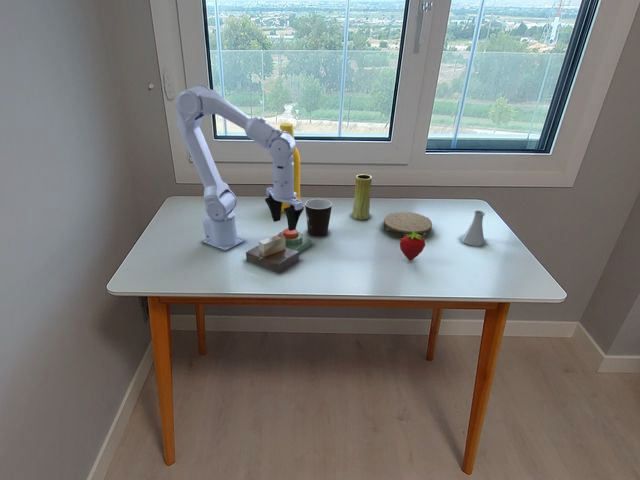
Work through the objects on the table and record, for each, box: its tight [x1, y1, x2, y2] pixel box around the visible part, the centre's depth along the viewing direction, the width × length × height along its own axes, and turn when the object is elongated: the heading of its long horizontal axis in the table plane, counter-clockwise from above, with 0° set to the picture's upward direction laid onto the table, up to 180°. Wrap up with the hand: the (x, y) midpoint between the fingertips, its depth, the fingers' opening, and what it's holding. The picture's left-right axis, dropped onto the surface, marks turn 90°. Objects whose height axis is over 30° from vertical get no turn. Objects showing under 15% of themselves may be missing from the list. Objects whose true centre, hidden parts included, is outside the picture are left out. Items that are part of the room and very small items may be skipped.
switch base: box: [245, 244, 300, 275], centre depth 130 cm, size 12×12×3 cm
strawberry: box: [399, 229, 426, 262], centre depth 131 cm, size 6×8×10 cm
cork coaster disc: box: [382, 211, 433, 240], centre depth 150 cm, size 16×16×3 cm
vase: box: [351, 173, 373, 220], centre depth 155 cm, size 6×6×14 cm
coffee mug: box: [304, 198, 333, 238], centre depth 146 cm, size 12×9×10 cm
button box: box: [278, 230, 312, 253], centre depth 138 cm, size 10×8×4 cm
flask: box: [461, 210, 486, 247], centre depth 142 cm, size 7×7×10 cm
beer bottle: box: [279, 122, 301, 213], centre depth 156 cm, size 9×9×29 cm
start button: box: [282, 227, 298, 239], centre depth 137 cm, size 4×4×2 cm
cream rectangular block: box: [258, 233, 285, 257], centre depth 128 cm, size 8×2×4 cm, turn 131°
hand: (284, 225), depth 132 cm, fingers open, 7 cm apart
